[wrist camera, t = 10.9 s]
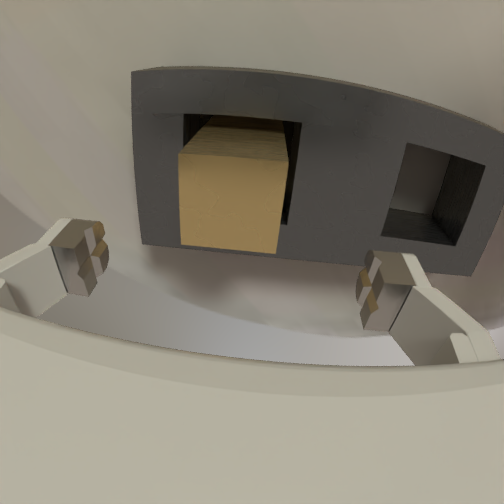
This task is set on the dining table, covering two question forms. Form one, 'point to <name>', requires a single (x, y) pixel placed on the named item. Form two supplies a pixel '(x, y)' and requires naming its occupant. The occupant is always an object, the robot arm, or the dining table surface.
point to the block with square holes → (325, 164)
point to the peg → (233, 184)
